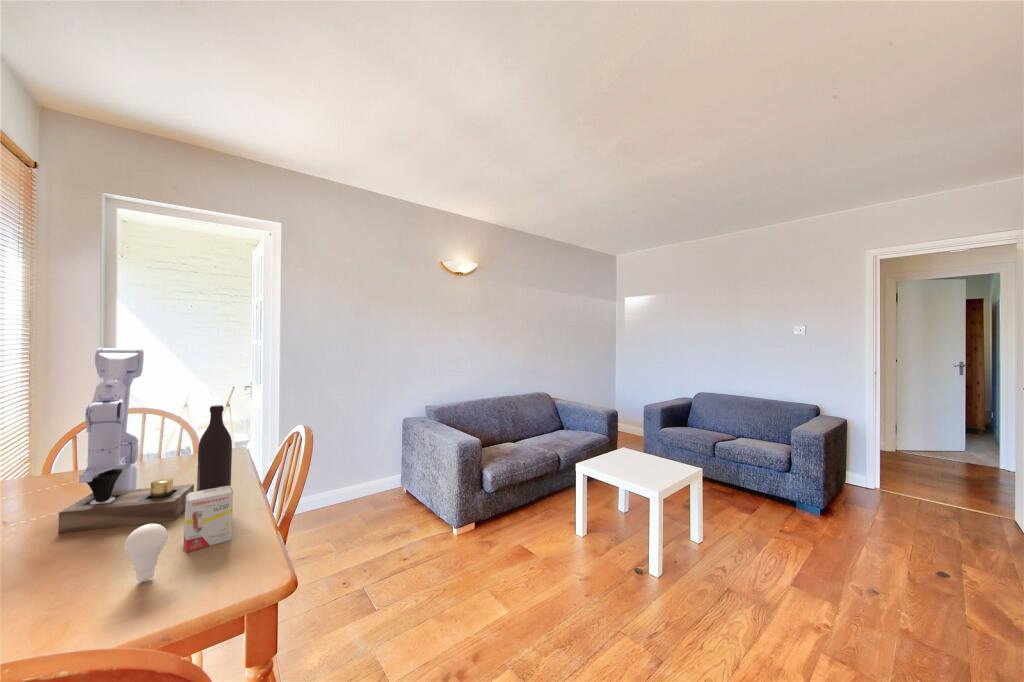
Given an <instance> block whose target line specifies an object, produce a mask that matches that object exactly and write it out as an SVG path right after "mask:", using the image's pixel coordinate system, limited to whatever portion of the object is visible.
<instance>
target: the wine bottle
mask: <svg viewBox="0 0 1024 682" xmlns="http://www.w3.org/2000/svg"><path fill="white" fill-rule="evenodd" d="M224 407H225V406H223V404H213V405H210V407H209V413H210V419H209V424H208V426H207V427H206V429H205V431H204V432H203V433H202V435H201V437H200V439H199V441H198V450H197V474H196V476H197V477H196V491H202V490H207V489H213V488H218V487H223V486H231V487H232V461H233V459H232V457H233V442H232V440H233V439H232V436H231V434H230V432H229V431H228V429H227V428H226V426H225V424H224V420H223V412H224V409H225V408H224Z"/></svg>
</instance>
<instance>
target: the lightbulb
mask: <svg viewBox="0 0 1024 682" xmlns="http://www.w3.org/2000/svg"><path fill="white" fill-rule="evenodd" d="M168 536H169V534H168V530H167V529H166V528H165V527H164V526H163V525H162V524H158V523H146V524H142V525H141V526H139V527H137V528H136V529H134V530H133V531H132V532H130V534H129V535H128V536H127V538H126V539H125V542H124V551H125V554H127V557H129V558H130V559H131V560H132V562H133V565H134V571H135V574H136V581H138V582H142V583H146V582H148V581H149V580H150V579H151V578H153V577H154V576H155V572H156V571H155V570H156V566H157V564H158V558H159V556H160V553H161V552H162V550H163V548H164V546H165V545H166V544H167V541H168Z"/></svg>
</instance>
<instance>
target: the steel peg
mask: <svg viewBox="0 0 1024 682" xmlns="http://www.w3.org/2000/svg"><path fill="white" fill-rule="evenodd" d="M113 500H115V497H110V499H108V500H107V501H99V502H96V500H93V501H91V502H90V505H91V504H101V503H110V502H112V501H113Z"/></svg>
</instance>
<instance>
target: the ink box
mask: <svg viewBox="0 0 1024 682" xmlns="http://www.w3.org/2000/svg"><path fill="white" fill-rule="evenodd" d="M233 491H234V489H233V488H232V485H231V486H223V487H218V488H213V489H207V490H202V491H197V490H196V491H194V492H191V493H188V494H187V495H186V505H185V510H184V528H183V529H184V530H183V547H184V552H185V553H190V552H193V551H196V549H197V550H200V549H203V548H207V547H210V546H211V547H212V546H214V545H218V544H221V543H225V542H228V541H231V540H232V538H233V537H232V534H233V533H232V532H233V508H234V507H233V505H234V504H233V502H234V501H233V500H234V496H233V495H234V492H233Z"/></svg>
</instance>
